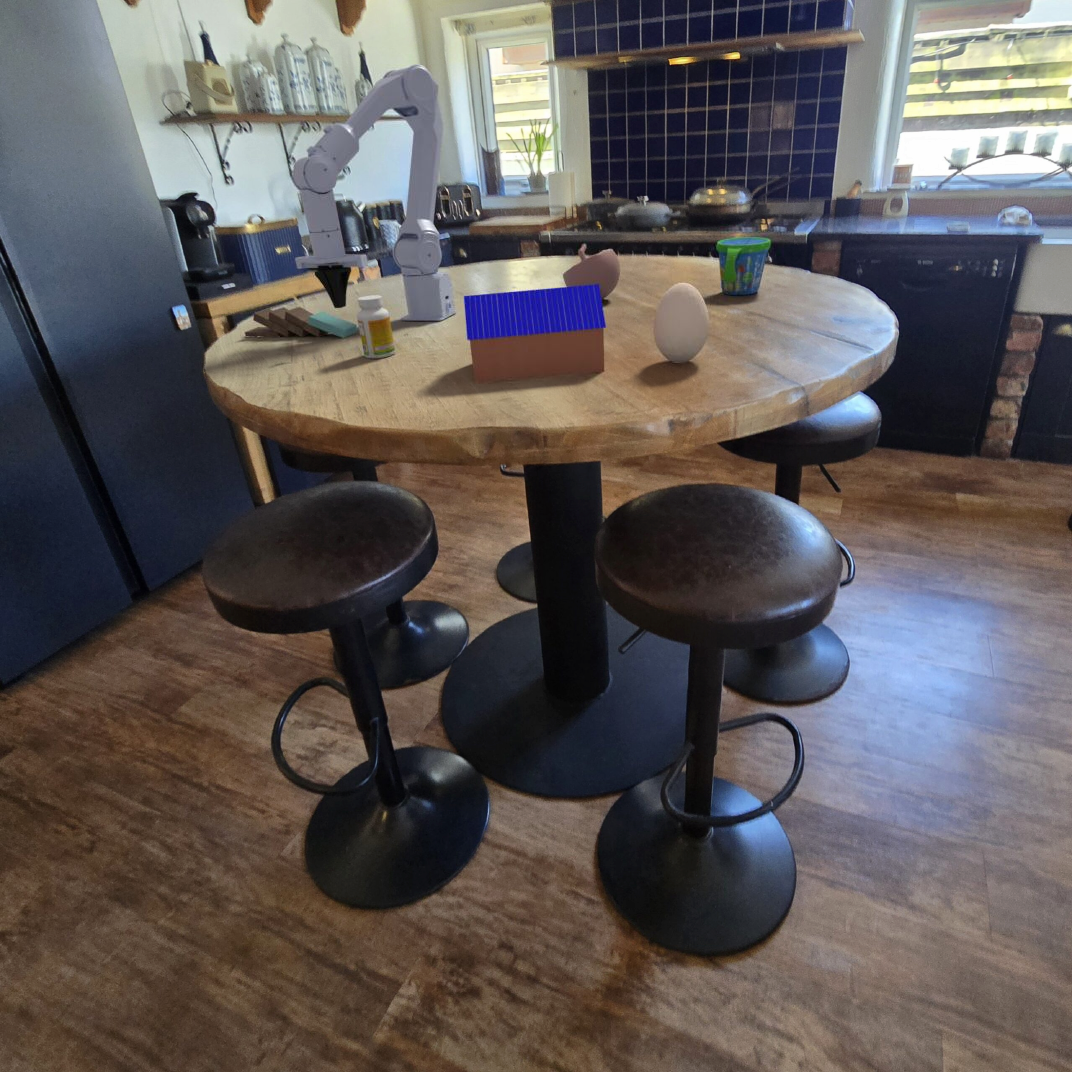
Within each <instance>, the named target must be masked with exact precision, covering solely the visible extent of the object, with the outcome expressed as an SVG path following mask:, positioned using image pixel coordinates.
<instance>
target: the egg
mask: <svg viewBox="0 0 1072 1072" xmlns="http://www.w3.org/2000/svg"><path fill="white" fill-rule="evenodd" d="M709 325H710V316H709V311H708V308H707V305H706V303H705V299H704V298H703V296H702V295H701V292H700V291H699V290H698V289H697V288H696V287H695V286H693V285H691V284H690V283H688V282H679V283H676V284H674V285H672V286H671V287H670V288H669V289H668V290H666V291H665V293H664V295H663V296H662V297H661V299H660V301H659V303H658V306H657V308H656V311H655V313H654V319H653V326H652V327H653V329H652V330H653V331H652V332H653V339H654V342H655V344H656V348H658V351H659V352H660V353H661V354H662V356H663V357H664V358H665V359H667V360H668V361H670V362H672V363H675V364H685V363H688V362H689V361H691V360H693V359H694V358H695V357H696V356H697V355H698V354H699V353H700V352H701V350H702V349H703V348H704V346H705V344H706V341H707V339H708V335H709V330H710V329H709V328H710V326H709Z"/></svg>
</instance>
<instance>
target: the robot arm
mask: <svg viewBox="0 0 1072 1072" xmlns="http://www.w3.org/2000/svg"><path fill="white" fill-rule="evenodd" d="M438 97H439V84H438V83H437V80H436V79H435V78H434V76H433V75H432V73H431V71H430V70H428V68H427V67H425V66H424V65H421V64H418V63H417V64H411V65H410V66H408V67H404V68H400V69H397V70H395V69H393V70H390V71H387V72H386V73H385V74H384V75H383V77H382V78H380V79H378V80H377V81H375V84H374V85H373V87H372V88H371V89H370V91H369V92H368V93H367V94H366V96H365V97H364V98H363V99H362V101H361V102H360V103H359V105H358V106H357V107H356V108H355V110H354V111H353V112H352V114H351V115H350V116H349V117H348V119H347V120H346V121H345V122H344V124H343V123H338V122H336V123H333V124H332V125H331V124H328V125H326V126H325V127H324V128H323V129H322V131H323V133H324V134H323V135H322V137H320V139H318V141H317V142H315V144H314V145H311V146H309V147H308V148H307V149H306V152H307V156H306V157H301V158H298V159H297V160H296V161H295V163H294V164H293V167H292V168H293V170H292V175H291V176H290V177H291V178H290V179H291V182H292V184H293V185H294V187H296V189H297V190H298V191H299V193H300V197H301V202H302V205H303V211H304V215H305V220H306V221H305V222H306V226H307V230H308V234H309V238H310V239H309V240H310V244H311V247H312V249H311V250H312V254H313V255H307V256H306V255H304V256H298V257H295V258H294V260H295V264H296V269H298V270H301V269H311V268H312V269H315V268H316V269H317V270H316V271H314V276H315V277H316V278H317V279H318V281H319V282H320V284H321V285H322V286H323V288H324V289H325V292H327V294H328V296H329V299H330V301H331V303H332V306H333V307H334V309H342V308H344V307H346V306H347V291H348V285H349V279H350V276H351V273H352V268H364V267H367V266H369V265H368V264H369V263H368V258H367V255H366V254H356V253H355V254H350V253H346V250H345V244H344V240H343V235H342V230H341V226H340V225H341V224H340V220H339V214H338V207H337V202H336V199H335V195H334V194H335V193H334V188H335V187H336V185H337V181H338V176H339V175H340V173H341V172H342V171H343V170H344V169H345V167H346V166H347V165H348V164H349V163H350V162H351V161H352V160H353V159H354V157H355V156H356V155H357V154H358V153H359V151H360V139H361V138H362V137H363V136H364V135H365V134H366V133H367V132H368V131H369V130H370V129H371V127H373V125H374V124H376V122H377V121H378V120H379V119H380V118H381V117H382V116H383V115H384V114H385V113H386V112H387V111H389V110H393V111H394V112H395V113H397V115H398V116H400V117H401V118H402V119H403V120H404V121H405V122H407V124H408V126H409V127H410V128H411V130H412V132H413V136H412V147H411V158H410V169H409V178H408V179H409V181H408V190H407V201H406V202H407V203H406V213H405V219H404V221H403V222H402V224H401V226H400V227H399V229H398V233H397V238H396V241H395V242H394V244H393V247H392V255H393V256H392V257H393V260H394V262H395V264H396V265H397V266H398V267H399V268H400V271H401V274H402V282H403V287H404V296H405V300H406V308H407V314H406V315H404V316H403V317H401V318H400V321H417V322H418V321H421V322H422V321H428V322H429V321H431V322H433V321H436V322H437V321H439V322H440V321H443V320H445V319H447V318H449V317H450V316H452V315H455V314H456V313H457V310H456V308H455V300H454V293H453V291H454V290H453V284H452V280H451V277H450V276H449V274H448V273H446V272H440V271H439V266H440V265H441V263H442V257H443V253H442V249H441V245H440V238H441V235H440V233H439V231H438V230H437V227H436V226H435V224H434V220H435V210H436V200H437V189H438V180H439V170H440V160H441V152H442V151H441V150H442V142H443V141H442V140H443V131H444V123H443V119H442V118H443V117H442V113H441V109H440V105H439V100H438Z"/></svg>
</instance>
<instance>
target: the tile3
mask: <svg viewBox="0 0 1072 1072" xmlns="http://www.w3.org/2000/svg"><path fill="white" fill-rule="evenodd" d="M272 310H273V309H272ZM288 310H289V309H288V308H286V307H284V306H282V307H280V308H276V309H274V310H273V311H270V312H269V320H271V321H273V322H275V323H277V324H279V325H280V326H282V327H284V328H286V329H288V330H290V331H292V332H293V333H295V334H294V335H298V336H299V337H301V338H303V337H306V336H308V335H311V333H310V332H308V331H306V330H304V329H302V328H300V327H299V326H297V325H295V324H293V323H291V322H290V321H288V320H286V319H285V312H286V311H288Z"/></svg>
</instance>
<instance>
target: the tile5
mask: <svg viewBox="0 0 1072 1072" xmlns="http://www.w3.org/2000/svg"><path fill="white" fill-rule="evenodd" d="M244 335H245V337H246V336H255V337H254V338H258V337H257V336H264V337H263V338H280V337H279V336H281V335H282V334H280V333H278V332H276V331H274V330H272V329H270V328H268V327H266V326H257V327H255V328H252V329H249V330H247V331H244ZM281 337H282V336H281Z"/></svg>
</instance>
